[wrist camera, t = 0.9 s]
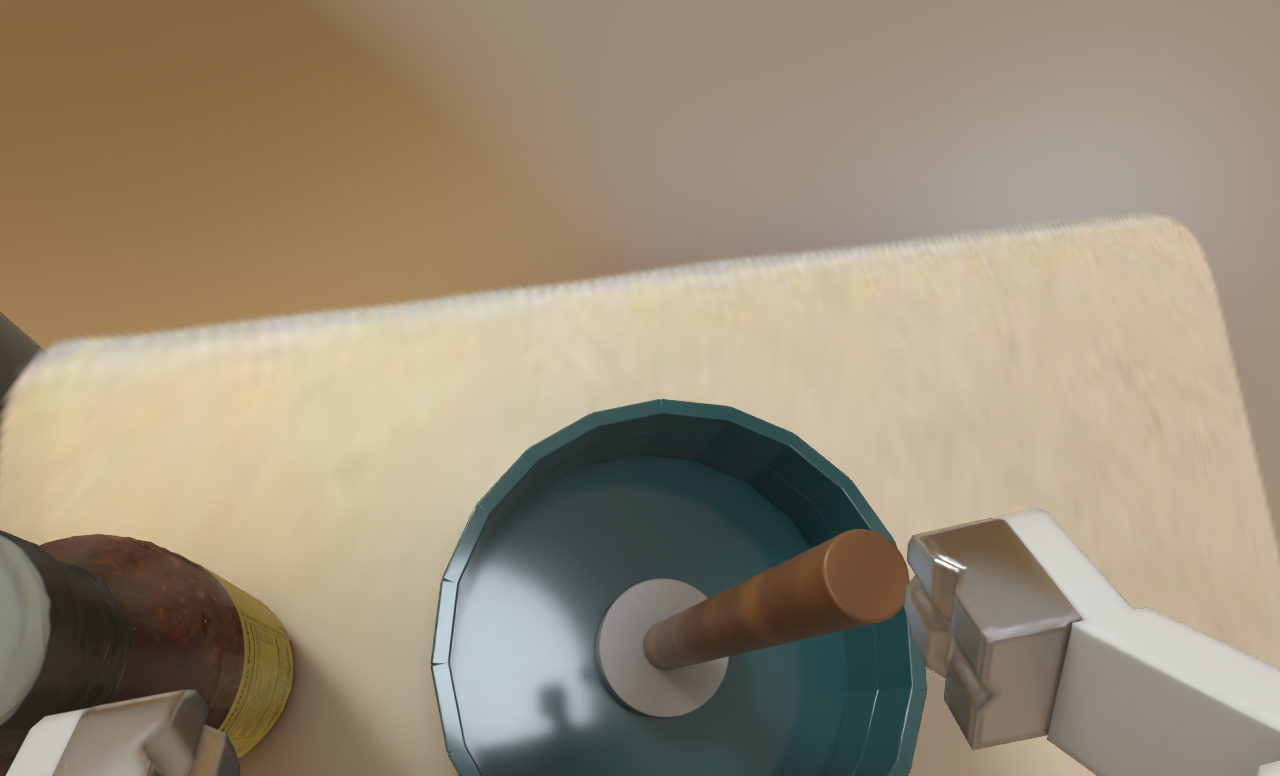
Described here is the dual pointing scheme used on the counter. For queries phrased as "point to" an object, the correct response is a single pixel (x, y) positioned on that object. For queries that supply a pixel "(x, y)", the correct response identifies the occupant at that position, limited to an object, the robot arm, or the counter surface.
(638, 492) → the bowl
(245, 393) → the counter surface
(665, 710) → the wooden dowel stand
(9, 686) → the sauce bottle
